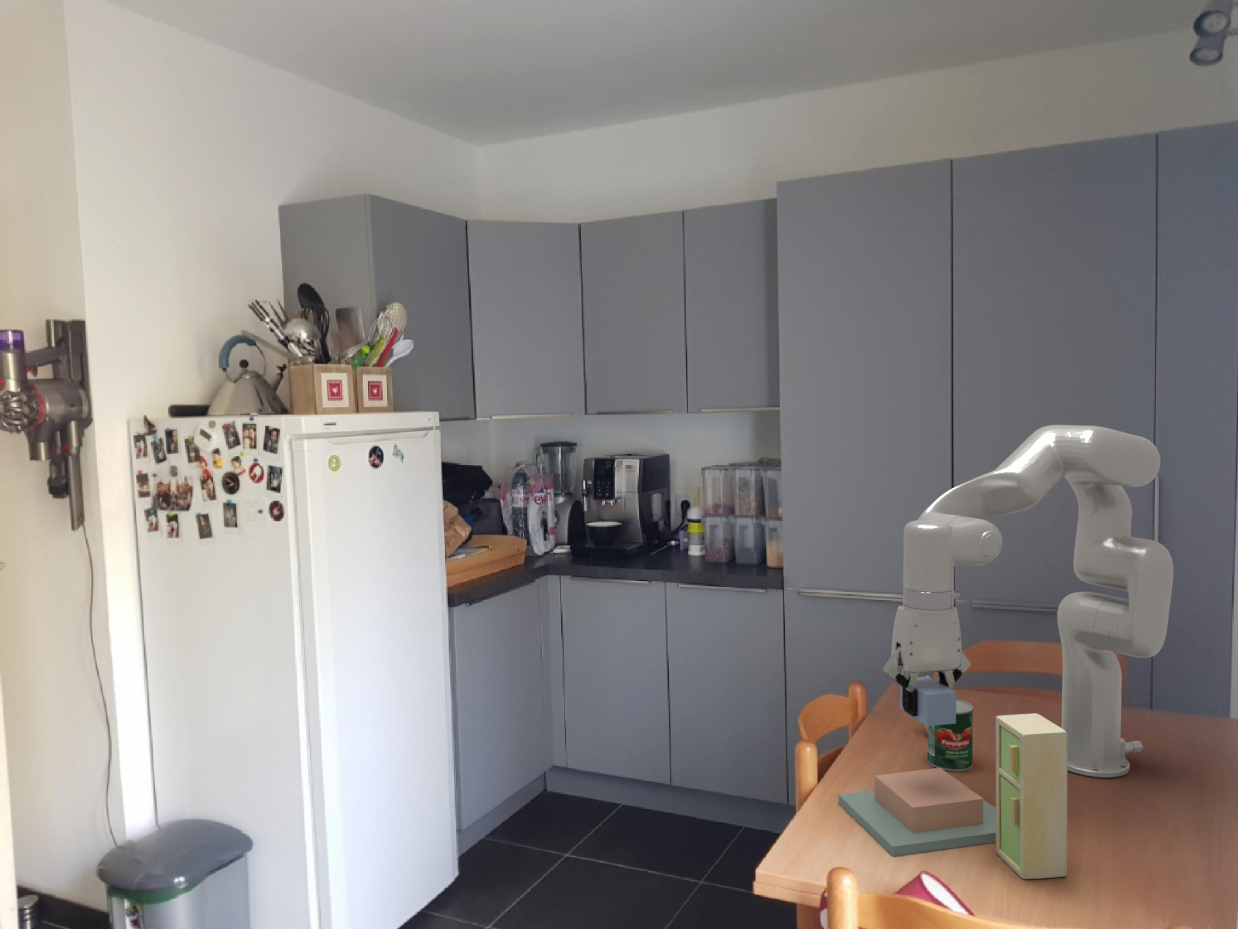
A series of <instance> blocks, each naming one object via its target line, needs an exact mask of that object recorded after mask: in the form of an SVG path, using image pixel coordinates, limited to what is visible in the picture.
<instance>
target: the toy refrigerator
mask: <svg viewBox="0 0 1238 929" xmlns="http://www.w3.org/2000/svg"><path fill="white" fill-rule="evenodd" d="M995 808H996V842H995V853H996V854H997V855H998V856H999V858H1001V859H1002V860H1003V861H1004V862H1005V863H1006V865H1008V866H1009V867H1010V868H1011V869H1012V870H1013V871H1014V872H1015V873H1016V874H1017V875H1018V876H1019V878H1021V879H1022V880H1035V879H1036V880H1037V879H1047V878H1048V879H1050V878H1061V877H1062V878H1063V877H1067V874H1068V770H1067V732H1066V731H1065V730H1064V729H1062V726H1059V725H1057V724H1056V723H1054V722H1052V721H1050V720H1049V719H1047V718H1045V717H1044V716H1043V715H1041V714H1039V713H1036V712H1035V713H1034V712H1033V713H1022V714H1021V713H1020V714H1019V713H1018V714H1005V715H1002V714H1001V715H997V716H995Z"/></svg>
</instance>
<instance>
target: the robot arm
mask: <svg viewBox="0 0 1238 929" xmlns="http://www.w3.org/2000/svg"><path fill="white" fill-rule="evenodd" d="M1160 467H1161V456H1160V453H1159V450H1158V448H1157V446H1155V443H1153V442H1152V441H1151V440H1150V439H1148V438H1146V437H1143V436H1139V435H1135V434H1131V433H1127V432H1124V431H1120V430H1116V429H1113V428H1108V427H1104V426H1100V425H1099V426H1098V425H1081V424H1078V425H1077V424H1076V425H1075V424H1073V425H1072V424H1050V425H1045V426H1042V427H1040V428H1037V429H1036V430H1034V431H1033V432H1032V434H1030V435H1029V436H1028V437H1027V438H1026V439H1025V440H1024V441H1023V442H1022V443H1021V444H1020V445H1018V447H1017V448H1016V449H1015V450H1014V451H1013V452H1012V453H1011V454H1010V455H1008V457H1006V459H1004V461H1003V462H1001V463H1000V464H999V465H998V466H997V467H996V468H995V469H994V470H992V471H990V472H987V473H983V474H981V475H980V476H977V477H975V478H973V479H970V480H968V481H966V482H964V483H961V484H959V485H956V486H955V487H953V488H951V489H949V490H947V491H945V492H944V493H943V494H941V495H940V496H938V497H937V498H936V499H935V500H934V501H933V502H932V503H931V504H930V505H929V506H928V507H927V508H925V510H924V511H923V512H922V513H921V515H920V516H918V518H917V519H916V520H911V521H908V523H907V524H906V525H905V526H904V528H903V570H902V574H903V575H902V576H903V578H902V579H903V580H902V586H903V587H902V594H903V595H902V605H899V606H897V609H896V613H895V617H894V622H893V630H892V638H891V649H890V654H891V655H890V657H889V659H888V660H887V662H885V665H884V666H883V668H882V670H883V672H885V674H887V675H888V676H889V677H890V678H892V679H893V680H894V681H895V682H896V683H897V684H898V686H899V687H900V686H901V687H902V706H903V708H904V711H905V712H904V711H903V712H904V713H906V712H907V713H908V714H907V713H906V714H907V715H909V714H910V715H911V716H910V715H909V716H910V717H912V716H913V717H915V716H917V702H918V694H917V692H916V691H915V686H916V682H917V678H918V677H919V674H924V673H936V674H937V675H936V676H937V678H938V682H939V683H941V684H943V685H945V686H947V687H948V688H950V689H952V690H953V689H954V688H955V687H956V683H957V682H958V680H959V679H960V678H961V677H962V674H963V673H965V672H966V671H967V670H968V669H969V668H970V667H971V665H972V663H971V661H970V660H969V659H968V658H967V656H966V654H964V652H963V650H962V648H963V646H962V634H961V626H960V619H959V614H958V610H957V608H956V607H955V606H954V604H955V599H960V597H961V595H960V591H959V590H957V589H955V587H954V583H955V580H954V579H955V578H954V575H955V566H971V567H972V566H973V567H975V566H976V567H977V566H979V567H980V566H984V565H987V564H989V563H991V562H992V561H993V560H995V559H996V558H997V557H998V555H1000V553H1001V552H1002V548H1003V536H1002V534H1001V531H1000V530H999V528H998V527H997V526H996V525H995V524H993V523H992V522H990V521H989V520H986V519H987V518H991V517H998V516H1006V515H1011V514H1012V515H1013V514H1015V513H1019V512H1024V511H1026V510H1029V509H1031V508H1033V507H1035V506H1036V505H1037V504H1038V503H1039V502H1040V501H1041V500H1042V499H1043V498H1044V497H1045V496H1046V495H1047V493H1049V491H1051V490H1052V488H1054V486H1056V484H1058V482H1060V480H1062V479H1063V478H1065V479H1066V481H1067V482H1068V483H1069V485H1070V486H1071V489H1072V490H1073V492H1074V494H1075V497H1076V499H1077V505H1078V514H1077V517H1078V518H1077V527H1076V534H1075V542H1074V551H1073V571H1074V574H1075V576H1076V578H1078V579H1079V580H1080V581H1081V582H1083V583H1086V584H1090V585H1094V586H1099V587H1103V588H1109V589H1114V590H1120V591H1124V592H1127V593H1128V599H1127V598H1122V597H1117V596H1114V595H1108V594H1102V593H1097V592H1093V591H1092V592H1091V591H1076V592H1075V591H1074V592H1073V593H1069V594H1068V595H1066V596H1065V597H1064V598H1063V599H1062V600H1061V601H1060V602H1059V605H1058V607H1057V613H1056V617H1057V618H1056V621H1057V628H1058V632H1059V637H1060V643H1061V654H1062V682H1061V683H1062V684H1061V686H1062V689H1061V692H1062V693H1061V728H1062V729H1064V730H1065V731H1066V732H1067V772H1068V771H1069V772H1072V773H1075V774H1078V775H1081V776H1087V777H1094V778H1106V779H1107V778H1117V777H1122V776H1125V775H1126V774H1128V773H1129V772H1130V766H1131V763H1130V761H1129V760H1128V758H1126V756H1127V755H1129V753H1141V752H1143V750H1144V746H1143V743H1142V742H1141V741H1140V740H1135V741H1134V740H1132V741H1127V742H1126V740H1125V738H1124V737H1123V738H1122V737H1121V730H1122V729H1121V726H1122V724H1121V722H1122V685H1123V684H1122V681H1123V679H1122V678H1123V675H1122V669H1121V664H1120V662H1119V660H1118V658H1117V655H1116V654H1115V653H1117V654H1122V655H1125V656H1130V657H1134V658H1140V659H1149V658H1151V657H1154V656H1156V655H1157V654H1159V652H1160V651H1161V649H1162V647H1163V646H1164V644H1165V640H1166V636H1167V632H1168V624H1169V615H1170V608H1171V600H1172V591H1173V590H1172V589H1173V584H1174V562H1173V559H1172V555H1171V553H1170V552H1169V549H1167V547H1166V546H1164V545H1163V544H1162V543H1160V542H1158V541H1156V540H1152V539H1148V538H1139V537H1133V536H1132V534H1131V532H1132V517H1133V509H1132V503H1131V501H1130V498H1129V496H1128V494H1127V492H1126V491H1125V489H1124V488H1123V487H1131V488H1133V487H1134V488H1136V487H1137V488H1139V487H1143V486H1146V485H1148V484H1149V483H1151V482H1152V481H1153V480H1154V479H1156V476H1157V475H1158V473H1159V471H1160ZM898 667H902V670H901V673H900V672H899V671H898ZM913 717H912V718H913ZM1128 771H1129V772H1128ZM1124 774H1125V775H1124Z"/></svg>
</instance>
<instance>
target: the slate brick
mask: <svg viewBox="0 0 1238 929" xmlns="http://www.w3.org/2000/svg"><path fill="white" fill-rule="evenodd" d="M926 676H927V677H926ZM926 676H918V678H917V682H916V686H915V691H916V692H917V694H918V702H917V716H915V717H913V716H911V715H910V714H908V713H907V712H905V711H904V708H903V706H902V687H901V686H900V685H899V709H900V710H901V711H902V712H904V713H905V714H907V715H908V716H910V717H911V718H913V719H915V720H916V721H918V722H919V723H921V724H923V725H924V727H925V726H934V725H944V724H955V723H956V699H957V690H954V689H953V688H952V689H950V688H948V687H947V686H945V685H943V684H941V683H939V680H938V681H937V680H936V679H934V678H932V677H930V676H929V675H926ZM928 676H929V677H928Z"/></svg>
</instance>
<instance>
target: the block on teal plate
mask: <svg viewBox="0 0 1238 929" xmlns="http://www.w3.org/2000/svg"><path fill="white" fill-rule="evenodd" d="M838 805H839V806H841V807H842V808H843V809H844V810H845V812H847V813H848V814H849V816H851V817H852V818H853V819H854V820H855V821H856V822H857V823H858V824H859V825H860V826H861V827H862V828H863V829H864V828H865V829H864V830H865V831H866V832H867V833H868V834H870V836H871V837H872V838H873V839H874V838H875V839H874V840H875V841H876V842H877V843H878V844H879V845H880V846H881V847H883V848H884V849H885V850H886V851H887V852H888V853H889V854H890V856H892V857H897V856H905V855H913V854H920V852H921V853H926V852H935V851H940V850H941V851H942V850H948V849H956V848H962V847H964V848H965V847H971V846H977V845H978V846H979V845H985V844H990V843H991V844H992V843H996V807H995V806H993V805H991V804H990V803H988V801H986V800H985V799H984V798H983V797H982V796H980V795H979V794H977V793H976V792H975V791H973V790H972V789H970V788H969V787H968V786H966V785H965V784H963V783H962V782H961V781H960V780H958V779H957V778H955V777H954V776H952V775H951V774H949V772H948V771H947V772H946V771H945V770H943V769H941V768H935V767H934V768H927V769H920V770H911V771H902V772H893V773H892V772H891V773H885V774H877V775H874V789H873V790H866V791H858V792H857V791H856V792H849V793H848V792H847V793H841V794H838ZM918 852H919V853H918Z"/></svg>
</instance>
